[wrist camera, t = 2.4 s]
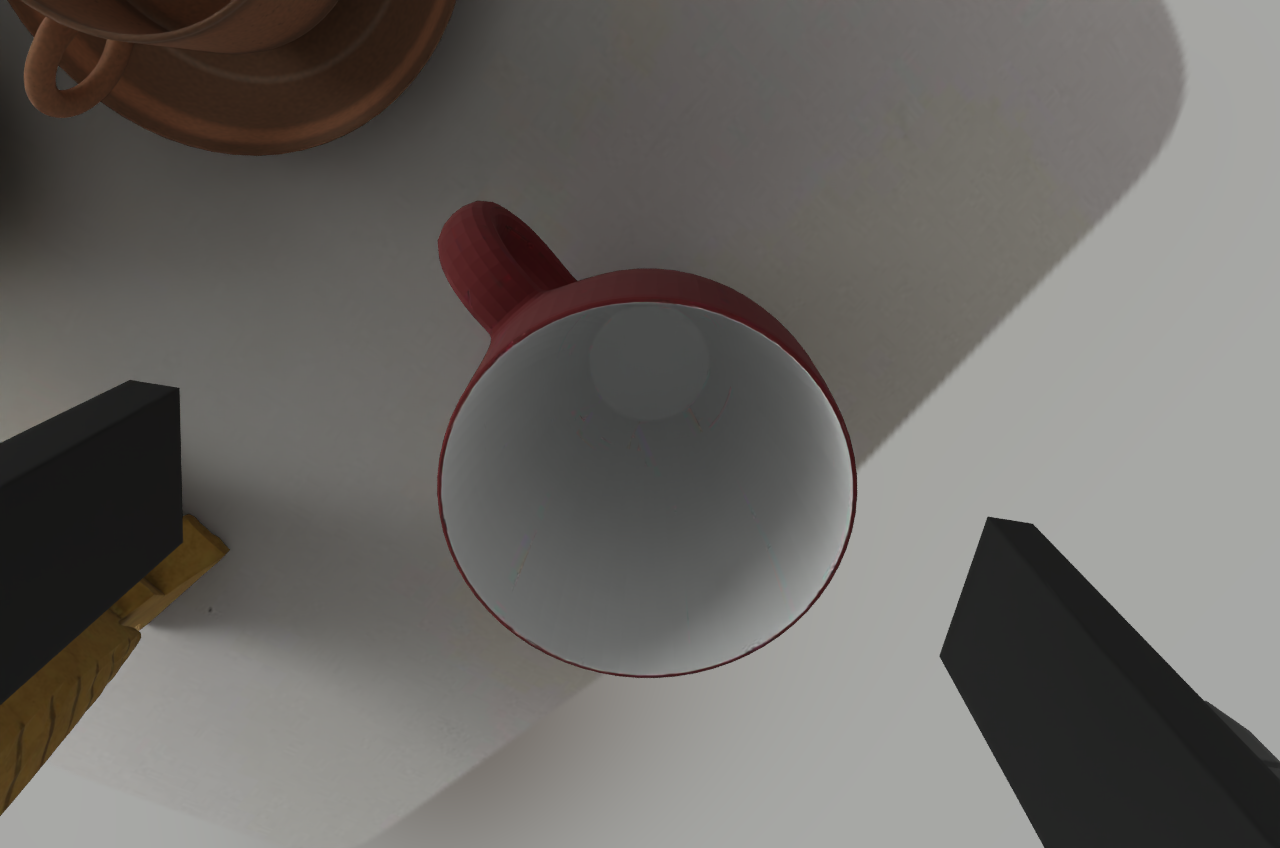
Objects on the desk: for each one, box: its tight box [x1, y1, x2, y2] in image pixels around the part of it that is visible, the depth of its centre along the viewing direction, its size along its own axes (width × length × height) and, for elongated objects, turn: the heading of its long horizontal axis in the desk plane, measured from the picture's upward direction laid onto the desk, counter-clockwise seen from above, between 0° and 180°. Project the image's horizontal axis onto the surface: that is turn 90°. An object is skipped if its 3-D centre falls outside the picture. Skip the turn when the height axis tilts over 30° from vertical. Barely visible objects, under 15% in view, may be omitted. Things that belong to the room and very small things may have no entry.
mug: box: [437, 201, 857, 678], centre depth 20 cm, size 10×8×10 cm
